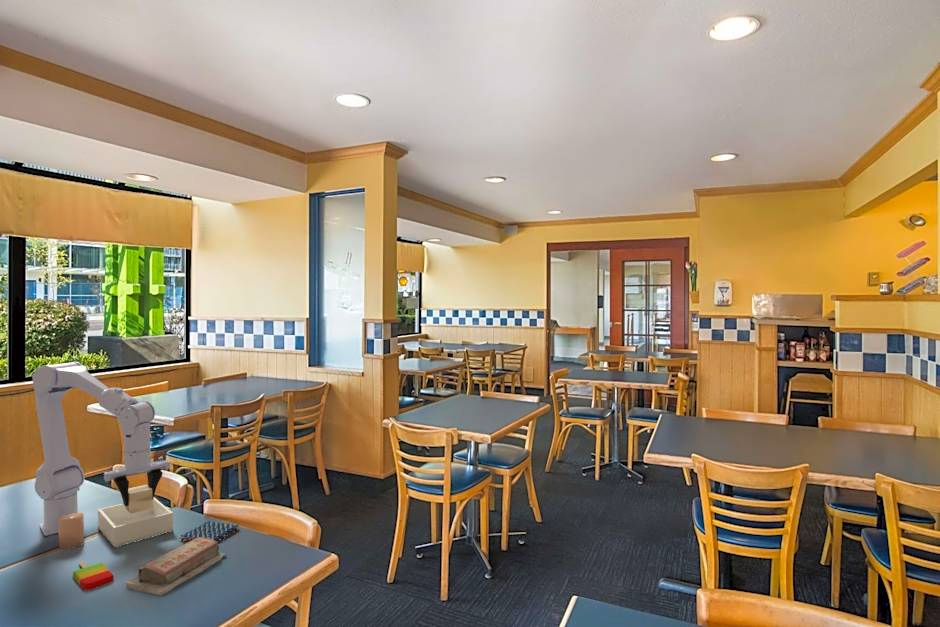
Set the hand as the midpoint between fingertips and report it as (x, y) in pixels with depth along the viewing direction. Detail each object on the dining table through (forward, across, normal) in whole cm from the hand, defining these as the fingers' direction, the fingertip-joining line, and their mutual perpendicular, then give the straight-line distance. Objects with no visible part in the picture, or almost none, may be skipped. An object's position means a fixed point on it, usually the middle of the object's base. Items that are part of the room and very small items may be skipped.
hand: (138, 502), depth 141 cm
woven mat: (+9, +13, -14) cm, 21 cm away
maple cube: (+2, 0, 0) cm, 2 cm away
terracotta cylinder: (+8, -14, +6) cm, 17 cm away
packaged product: (+9, +1, -29) cm, 30 cm away
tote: (+8, 0, +4) cm, 9 cm away
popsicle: (+9, -14, -16) cm, 23 cm away
